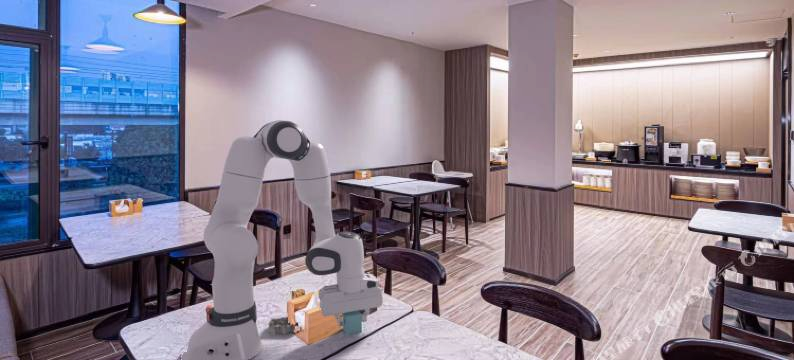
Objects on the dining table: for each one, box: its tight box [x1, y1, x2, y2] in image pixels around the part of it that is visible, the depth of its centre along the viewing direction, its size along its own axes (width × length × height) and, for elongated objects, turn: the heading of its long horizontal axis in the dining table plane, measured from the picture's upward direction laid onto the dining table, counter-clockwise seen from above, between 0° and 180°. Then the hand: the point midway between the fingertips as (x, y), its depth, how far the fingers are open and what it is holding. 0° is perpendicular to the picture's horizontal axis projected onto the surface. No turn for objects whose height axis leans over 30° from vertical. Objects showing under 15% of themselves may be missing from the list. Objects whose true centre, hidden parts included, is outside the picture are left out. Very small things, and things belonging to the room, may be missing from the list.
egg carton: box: [267, 316, 296, 335], centre depth 143 cm, size 11×8×4 cm
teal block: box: [341, 310, 363, 336], centre depth 141 cm, size 5×5×6 cm
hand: (352, 323), depth 142 cm, fingers open, 6 cm apart
